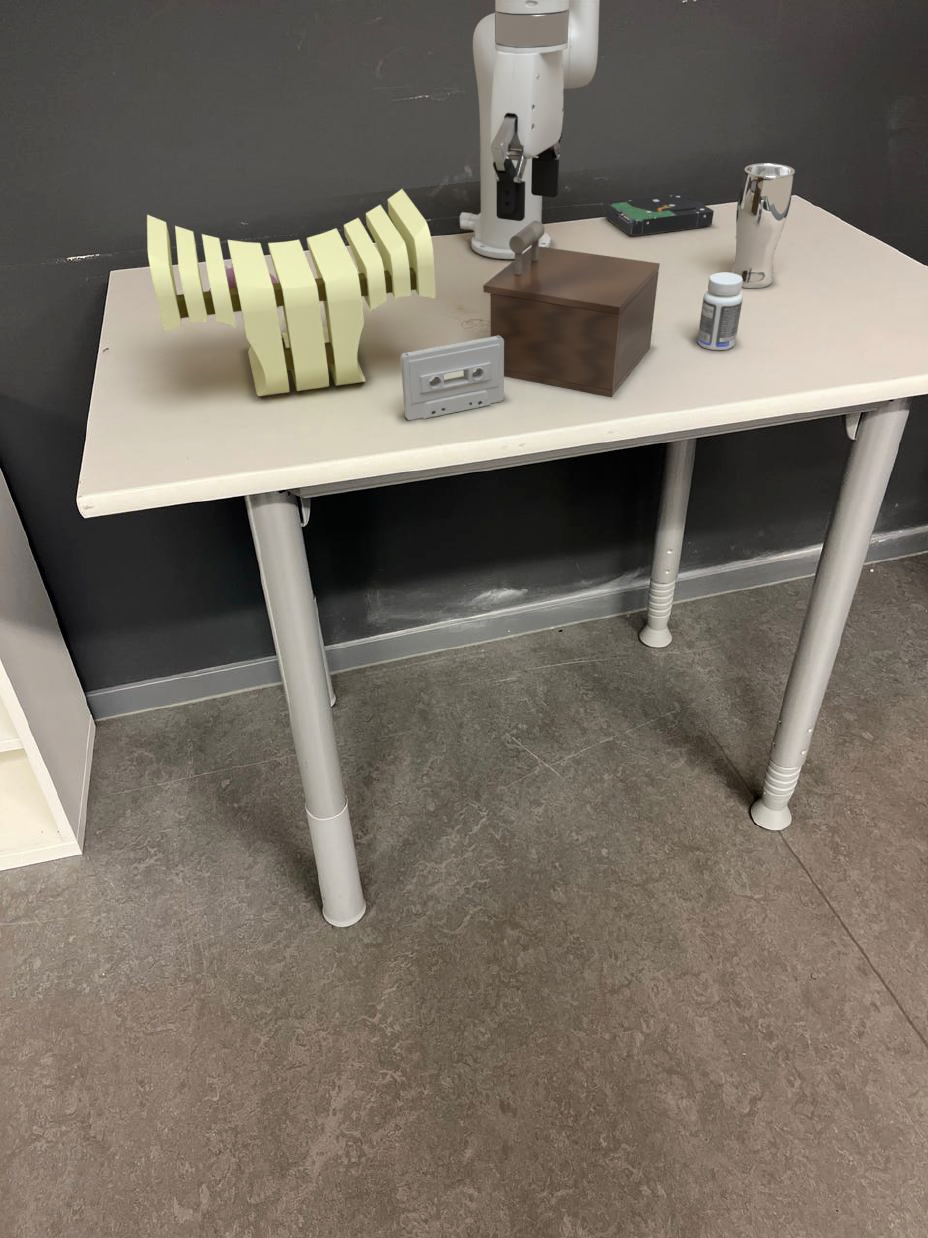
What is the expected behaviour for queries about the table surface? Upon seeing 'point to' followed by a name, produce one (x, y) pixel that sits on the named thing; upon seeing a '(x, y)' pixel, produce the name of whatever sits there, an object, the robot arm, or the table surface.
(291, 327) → the slatted curved stool
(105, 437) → the table surface
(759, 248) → the beer glass
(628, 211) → the disk drive
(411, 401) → the cassette
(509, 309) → the chest
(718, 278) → the pill bottle
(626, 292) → the lid
